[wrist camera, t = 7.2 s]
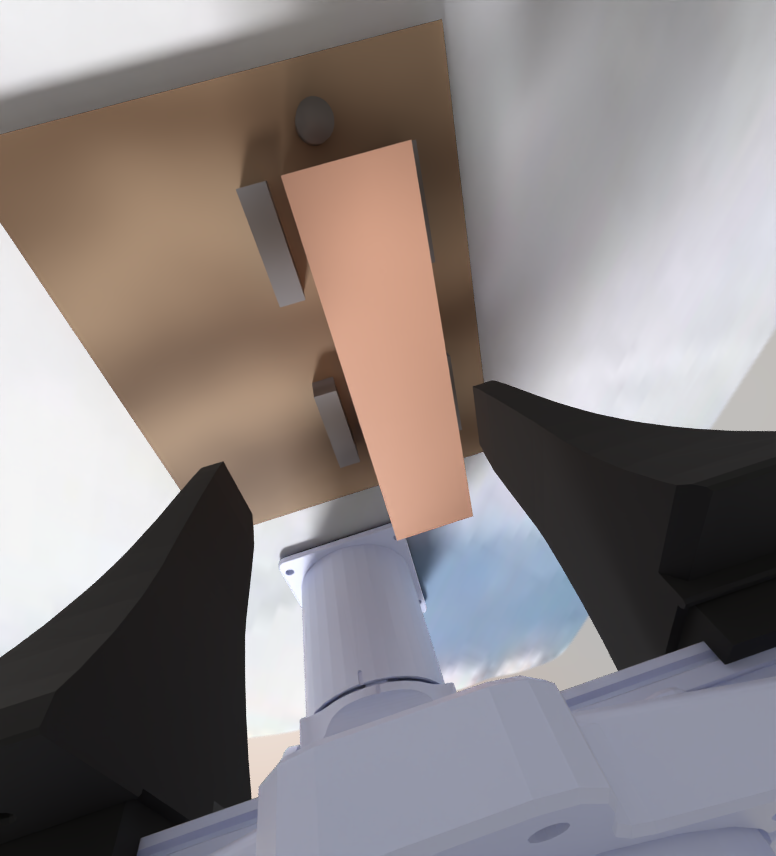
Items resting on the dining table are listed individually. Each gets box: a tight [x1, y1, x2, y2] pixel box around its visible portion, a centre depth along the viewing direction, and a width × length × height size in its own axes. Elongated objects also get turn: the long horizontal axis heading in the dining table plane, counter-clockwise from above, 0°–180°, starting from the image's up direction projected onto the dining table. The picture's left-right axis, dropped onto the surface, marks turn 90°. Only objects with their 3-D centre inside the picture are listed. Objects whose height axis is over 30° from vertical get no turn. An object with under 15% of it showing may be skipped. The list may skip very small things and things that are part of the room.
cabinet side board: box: [0, 19, 484, 525], centre depth 18 cm, size 18×16×3 cm
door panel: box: [281, 140, 473, 541], centre depth 15 cm, size 12×3×7 cm, turn 13°
